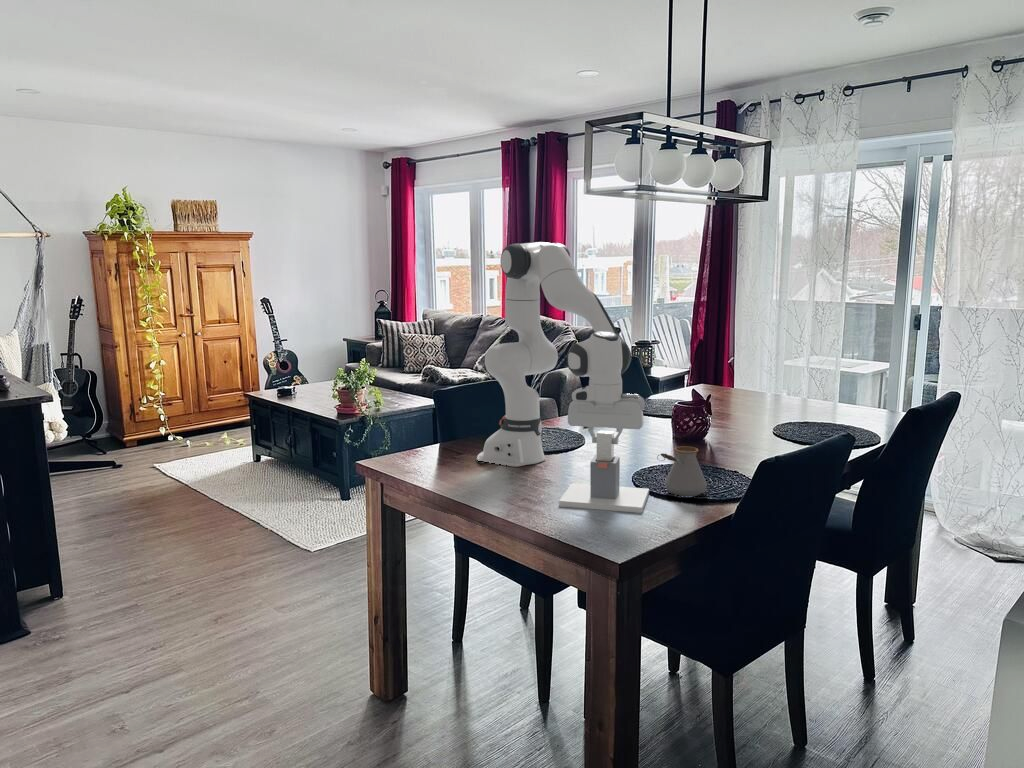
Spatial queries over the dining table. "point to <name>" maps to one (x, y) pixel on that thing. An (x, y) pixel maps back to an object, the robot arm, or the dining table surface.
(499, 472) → the dining table surface
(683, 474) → the coffee pot
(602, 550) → the dining table surface
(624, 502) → the stand
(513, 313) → the robot arm
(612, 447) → the column
